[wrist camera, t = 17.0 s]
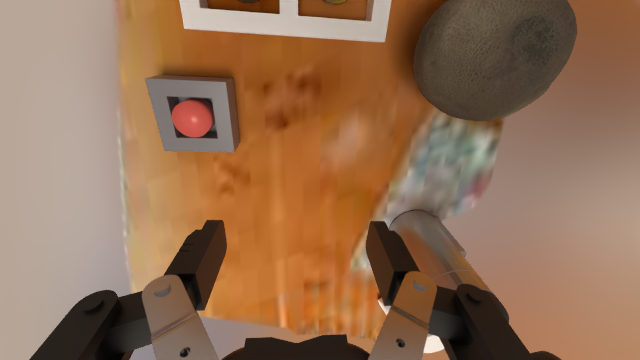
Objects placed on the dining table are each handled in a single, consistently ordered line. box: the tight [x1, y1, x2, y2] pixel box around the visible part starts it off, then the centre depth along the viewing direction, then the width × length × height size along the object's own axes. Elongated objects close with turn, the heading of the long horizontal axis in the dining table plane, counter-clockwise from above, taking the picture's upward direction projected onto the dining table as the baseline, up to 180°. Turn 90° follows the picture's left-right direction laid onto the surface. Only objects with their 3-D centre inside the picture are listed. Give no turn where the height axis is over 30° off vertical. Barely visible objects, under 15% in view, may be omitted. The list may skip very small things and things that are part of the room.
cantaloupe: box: [413, 0, 577, 121], centre depth 27 cm, size 14×14×15 cm
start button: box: [172, 97, 215, 137], centre depth 31 cm, size 4×4×3 cm
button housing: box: [145, 75, 240, 152], centre depth 32 cm, size 9×9×4 cm
